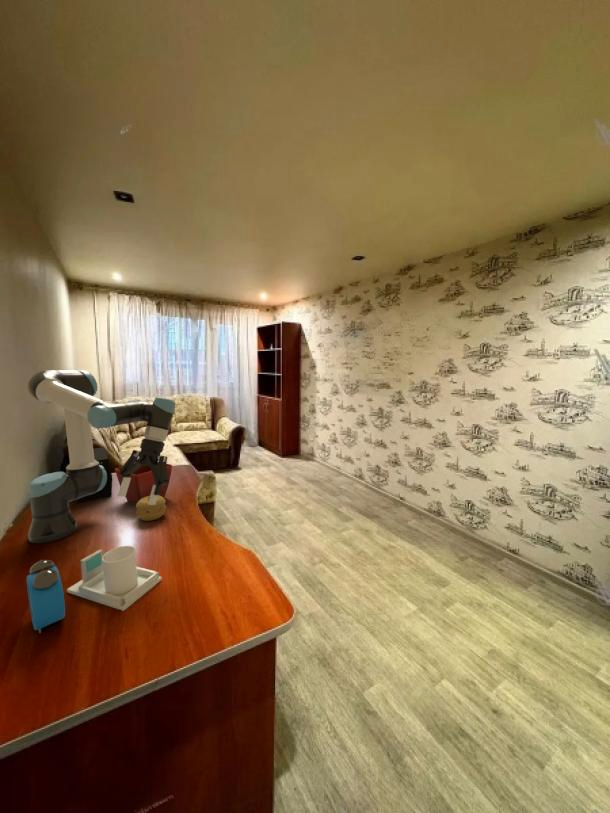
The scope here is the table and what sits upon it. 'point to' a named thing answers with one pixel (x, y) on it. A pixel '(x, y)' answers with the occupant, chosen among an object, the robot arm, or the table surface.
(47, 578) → the alarm clock
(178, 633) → the table surface
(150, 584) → the dock
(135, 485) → the plant pot
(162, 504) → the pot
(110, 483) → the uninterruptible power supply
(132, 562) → the cup
